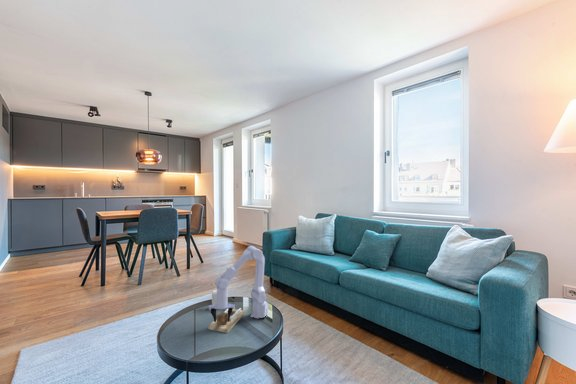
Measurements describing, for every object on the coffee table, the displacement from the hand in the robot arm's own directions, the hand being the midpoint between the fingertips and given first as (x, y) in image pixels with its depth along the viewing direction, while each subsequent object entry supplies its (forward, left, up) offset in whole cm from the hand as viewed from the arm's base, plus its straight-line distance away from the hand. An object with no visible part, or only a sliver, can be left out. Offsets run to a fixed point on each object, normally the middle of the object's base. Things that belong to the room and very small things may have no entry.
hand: (222, 320), depth 154 cm
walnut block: (0, -1, -1) cm, 2 cm away
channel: (0, -10, -1) cm, 10 cm away
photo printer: (+14, -20, -4) cm, 25 cm away
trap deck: (0, -6, -3) cm, 7 cm away
